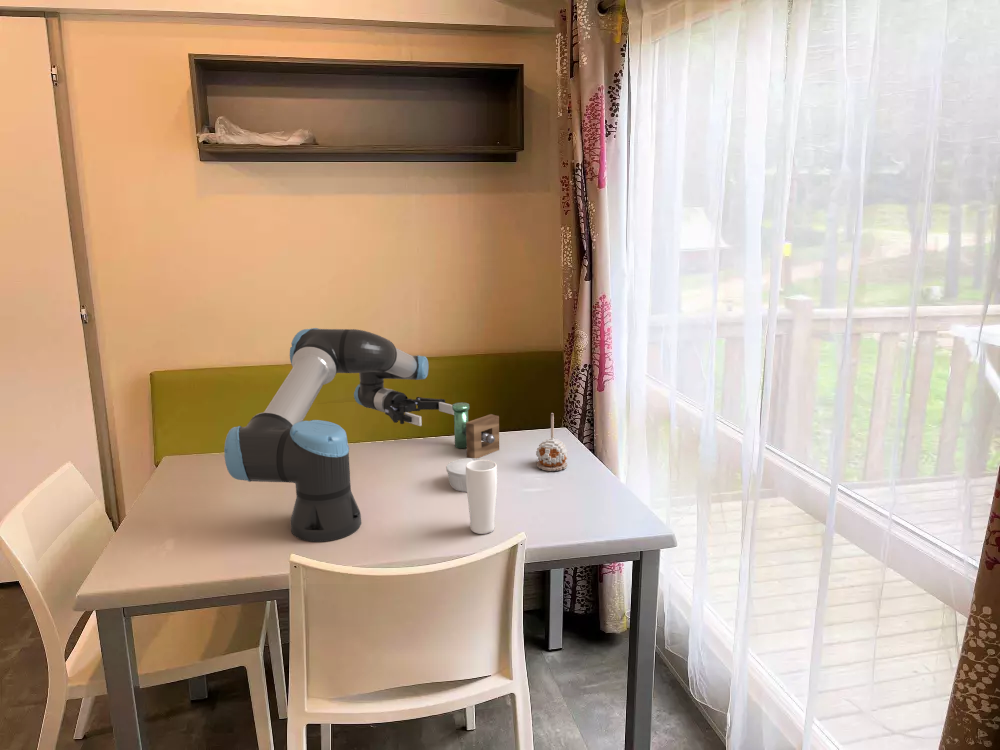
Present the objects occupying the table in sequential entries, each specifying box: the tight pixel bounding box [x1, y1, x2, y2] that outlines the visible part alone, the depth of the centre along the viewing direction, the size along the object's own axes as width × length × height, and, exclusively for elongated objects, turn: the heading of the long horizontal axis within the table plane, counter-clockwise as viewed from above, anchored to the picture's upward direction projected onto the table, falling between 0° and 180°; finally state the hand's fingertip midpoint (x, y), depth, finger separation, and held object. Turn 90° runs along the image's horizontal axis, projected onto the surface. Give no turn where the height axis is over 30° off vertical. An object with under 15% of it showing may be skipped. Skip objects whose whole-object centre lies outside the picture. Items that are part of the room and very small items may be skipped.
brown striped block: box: [466, 413, 500, 459], centre depth 204 cm, size 3×10×10 cm, turn 137°
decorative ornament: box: [535, 412, 568, 472], centre depth 193 cm, size 8×8×15 cm
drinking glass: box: [466, 459, 498, 535], centre depth 158 cm, size 7×7×15 cm
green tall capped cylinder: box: [451, 402, 495, 449], centre depth 206 cm, size 15×5×12 cm, turn 47°
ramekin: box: [445, 457, 482, 493], centre depth 183 cm, size 11×11×5 cm
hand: (438, 415), depth 216 cm, fingers open, 13 cm apart
